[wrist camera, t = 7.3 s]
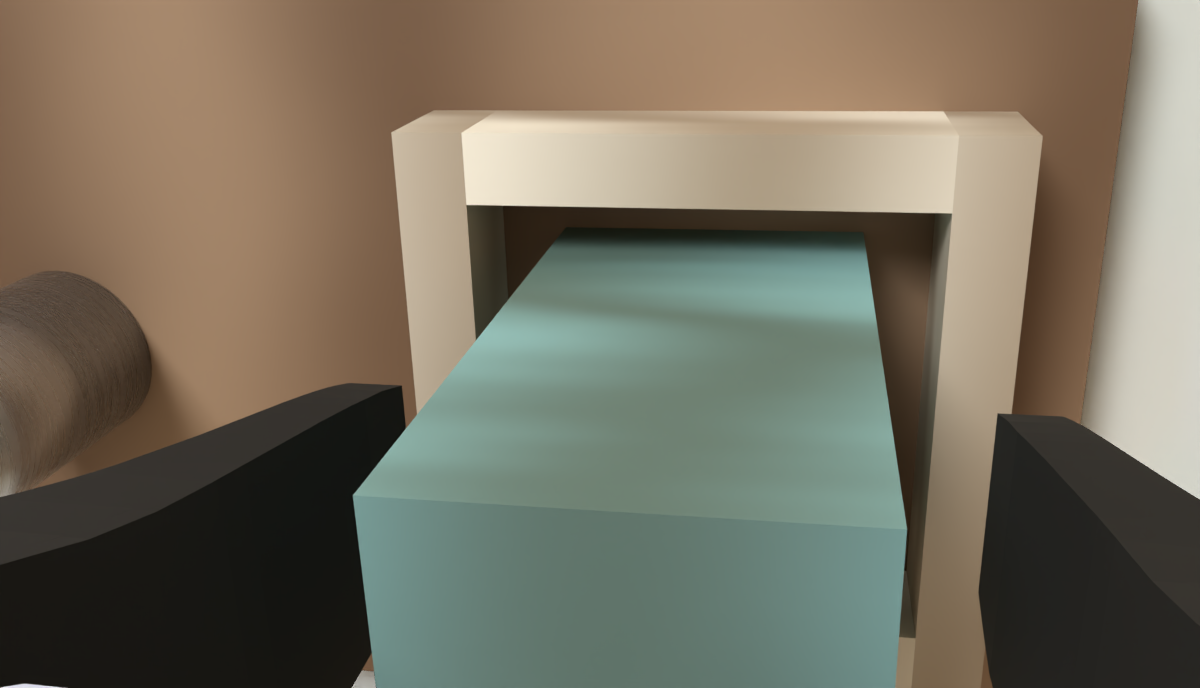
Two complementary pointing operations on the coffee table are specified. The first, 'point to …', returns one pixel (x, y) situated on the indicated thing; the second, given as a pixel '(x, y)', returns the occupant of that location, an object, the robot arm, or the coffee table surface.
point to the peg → (650, 478)
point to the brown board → (575, 198)
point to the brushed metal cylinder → (63, 373)
